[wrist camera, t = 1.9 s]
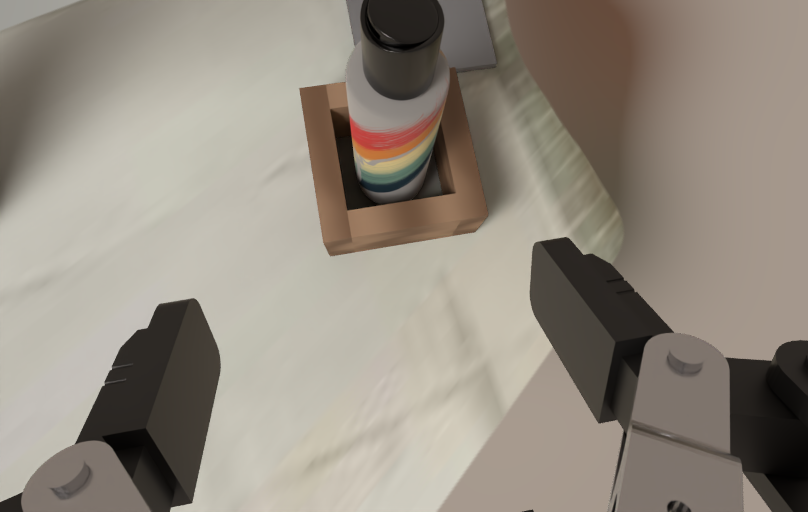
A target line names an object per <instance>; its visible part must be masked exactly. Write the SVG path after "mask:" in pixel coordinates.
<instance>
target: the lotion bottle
mask: <svg viewBox="0 0 808 512" xmlns="http://www.w3.org/2000/svg"><path fill="white" fill-rule="evenodd" d="M444 23H445V19H444V13H443V10H442V7H441V5H440V3H439V2H438V0H363V3H362V6H361V11H360V30H361V41H360V42H359V43H358V44H357V45H356V47H355V48H354V49H353V51H352V53H351V54H350V57H349V59H348V62H347V67H346V90H347V99H348V108H349V117H350V126H351V134H352V143H353V152H354V160H355V169H356V176H357V180H358V183H359V186H360V188H361V190H362V191H363V193H364V194H365V195H366V196H367V197H368V198H369V199H371V200H372V201H374V202H376V203H378V204H381V205H386V204H392V203H398V202H405V201H410V200H411V199H412V198H414V197H415V196H416V195H417V193H418V192H419V190H420V189H421V187H422V185H423V182H424V179H425V176H426V172H427V169H428V165H429V161H430V158H431V154H432V150H433V147H434V143H435V139H436V136H437V132H438V128H439V125H440V121H441V117H442V114H443V110H444V106H445V102H446V98H447V94H448V90H449V84H450V71H449V66H448V62H447V60H446V57H445V55H444V54H443V52H442V51H441V49H440V45H441V40H442V35H443V30H444Z"/></svg>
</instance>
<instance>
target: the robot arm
mask: <svg viewBox="0 0 808 512" xmlns="http://www.w3.org/2000/svg"><path fill="white" fill-rule="evenodd" d="M530 301H531V306H532V310H533V313H534V315H535V317H536V319H537V321H538V322H539V324H540V326H541V327H542V329H543V331H544V332H545V334H546V336H547V338H548V339H549V341H550V343H551V344H552V346H553V348H554V349H555V351H556V353H557V354H558V356H559V358H560V359H561V361H562V363H563V365H564V366H565V368H566V370H567V371H568V373H569V375H570V376H571V378H572V379H573V381H574V383H575V385H576V386H577V388H578V390H579V391H580V393H581V395H582V397H583V398H584V400H585V401H586V403H587V405H588V407H589V408H590V410H591V412H592V413H593V415H594V417H595V418H596V420H597V422H598V423H603V422H609V421H614V420H618V422H619V423H620V425H621V426H622V428H623V434H622V438H621V443H620V448H619V453H618V459H617V464H616V469H615V474H614V479H613V484H612V490H611V495H610V500H609V505H608V511H607V512H744V510H743V509H744V508H743V473H744V474H745V476H746V477H747V478H748V480H749V481H750V482H751V484H752V485H753V486H754V488H755V489H756V490H757V492H758V493H759V494H760V496H761V497H762V499H763V500H764V501H765V503H766V504H767V505H768V507H769V508H770V510H771V511H772V512H808V341H802V340H799V341H791V342H787V343H784V344H782V345H781V346H780V347H779V348H778V349H777V351H776V353H775V355H774V357H773V359H772V361H766V360H751V359H736V358H725V357H724V356H723V354H721V352H720V351H719V350H717V349H716V348H715V347H714V346H712V345H711V344H709V343H707V342H706V341H704V340H701V339H699V338H696V337H694V336H690V335H686V334H681V333H674V332H673V331H672V330H671V329H670V328H669V327H668V325H667V324H666V323H665V322H664V321H663V320H662V319H661V318H660V317H659V316H658V315H657V313H656V312H655V311H654V310H653V309H652V308H651V307H650V306H649V305H648V304H647V303H646V301H645V300H644V299H643V298H642V297H641V296H640V295H639V294H638V293H637V292H634V289H633V288H632V286H631V285H630V284H629V283H628V282H627V281H624V278H623V277H622V276H621V274H620V273H619V272H618V271H617V270H616V269H615V268H614V267H613V266H612V265H611V264H610V263H608V262H606V261H604V260H603V259H601V258H599V257H597V256H595V255H593V254H586V255H583V254H582V253H581V251H580V250H579V249H578V248H577V247H576V246H575V245H574V243H573V242H572V241H571V240H570V239H569V238H567V237H564V238H558V239H552V240H546V241H540V242H536V243H535V244H534V246H533V251H532V266H531V282H530ZM220 368H221V364H220V354H219V350H218V347H217V344H216V342H215V339H214V337H213V335H212V332H211V330H210V328H209V325H208V323H207V321H206V318H205V316H204V313H203V311H202V309H201V306H200V304H199V303H198V301H197V300H196V299H194V298H193V299H187V300H181V301H175V302H169V303H163V304H159V305H158V306H157V308H156V310H155V312H154V315H153V317H152V319H151V322H150V324H149V326H148V328H147V329H141V330H137V331H136V332H135V333H134V335H133V336H132V337H131V338H130V339H129V340H128V341H127V342H126V343H125V344H124V345H123V346H122V347H121V348H120V350H119V352H118V354H117V357H116V359H115V361H114V363H113V365H112V370H110V371H109V373H108V376H107V378H106V380H105V386H102V388H101V390H100V392H99V395H98V397H97V399H96V401H95V403H94V405H93V407H92V409H91V412H90V414H89V416H88V418H87V420H86V422H85V424H84V426H83V428H82V431H81V433H80V435H79V437H78V439H77V441H76V443H75V445H72V446H70V447H68V448H66V449H64V450H62V451H60V452H58V453H57V454H55V455H54V456H53V457H51V458H50V459H49V460H47V461H46V462H45V463H44V464H43V465H42V466H41V467H40V468H39V469H38V470H37V471H36V472H35V473H34V474H33V475H32V477H31V478H30V480H29V481H28V483H27V484H26V486H25V488H24V491H23V492H22V493H20V494H18V495H16V496H13V497H11V498H9V499H7V500H4V501H2V502H0V512H170V509H171V507H175V506H180V505H185V504H190V503H192V501H193V497H194V492H195V487H196V483H197V478H198V473H199V469H200V464H201V459H202V455H203V450H204V445H205V441H206V436H207V432H208V427H209V422H210V418H211V413H212V408H213V404H214V399H215V394H216V390H217V385H218V380H219V376H220ZM742 472H743V473H742ZM524 512H534V511H533V510H528V511H524Z"/></svg>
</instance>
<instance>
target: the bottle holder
mask: <svg viewBox="0 0 808 512" xmlns="http://www.w3.org/2000/svg"><path fill="white" fill-rule="evenodd" d="M449 71H450V84H449V90H448V94H447V98H446V102H445V106H444V110H443V114H442V117H441V121H440V125H439V128H438V132H437V136H436V139H435V143H434V147H433V151H434V155H435V160H436V165H437V170H438V175H439V179H440V184H441V189H442V194H443V195H442V196H436V197H430V198H423V199H417V200H411V201H405V202H398V203H392V204H386V205H380V206H373V207H367V208H361V209H355V210H348V209H347V203H346V197H345V191H344V185H343V179H342V173H341V167H340V161H339V155H338V149H337V143H336V138H340V137H347V136H352V134H351V126H350V117H349V108H348V99H347V90H346V82H342V83H334V84H327V85H320V86H312V87H305V88H299V89H300V96H301V102H302V109H303V115H304V121H305V128H306V134H307V141H308V147H309V153H310V160H311V166H312V173H313V179H314V185H315V192H316V198H317V205H318V211H319V218H320V224H321V230H322V237H323V243H324V245H325V247H326V249H327V251H328V253H329V255H330V256H335V255H341V254H347V253H353V252H359V251H365V250H371V249H377V248H383V247H389V246H395V245H401V244H407V243H413V242H419V241H425V240H431V239H437V238H443V237H449V236H455V235H461V234H467V233H472V232H475V231H476V230H477V229H478V228H479V226H480V225H481V224H482V223H483V221H484V220H485V219H486V218H487V216H488V210H487V206H486V202H485V197H484V193H483V188H482V184H481V179H480V175H479V170H478V166H477V162H476V157H475V153H474V148H473V144H472V139H471V135H470V130H469V126H468V121H467V117H466V113H465V108H464V104H463V99H462V95H461V90H460V86H459V81H458V77H457V73H456V68H455V67H452V68H449Z"/></svg>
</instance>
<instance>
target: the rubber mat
mask: <svg viewBox="0 0 808 512" xmlns="http://www.w3.org/2000/svg"><path fill="white" fill-rule="evenodd" d="M346 1H347V6H348V12H349V17H350V23H351V28H352V34H353V39H354V45H355V47H356V45H357V44H358V43H359V42H360V41H361V30H360V11H361V6H362V3H363V0H346ZM438 2H439V3H440V5H441V7H442V10H443V13H444V19H445V23H444V30H443V35H442V40H441V45H440V49H441V51H442V52H443V54H444V55H445V57H446V60H447V62H448V66H449V68H452V67H455V68H456V73H457V72H464V71H471V70H479V69H486V68H493V67H496V64H497V61H496V57H495V53H494V49H493V45H492V41H491V36H490V32H489V28H488V24H487V20H486V16H485V12H484V8H483V4H482V0H438Z"/></svg>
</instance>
